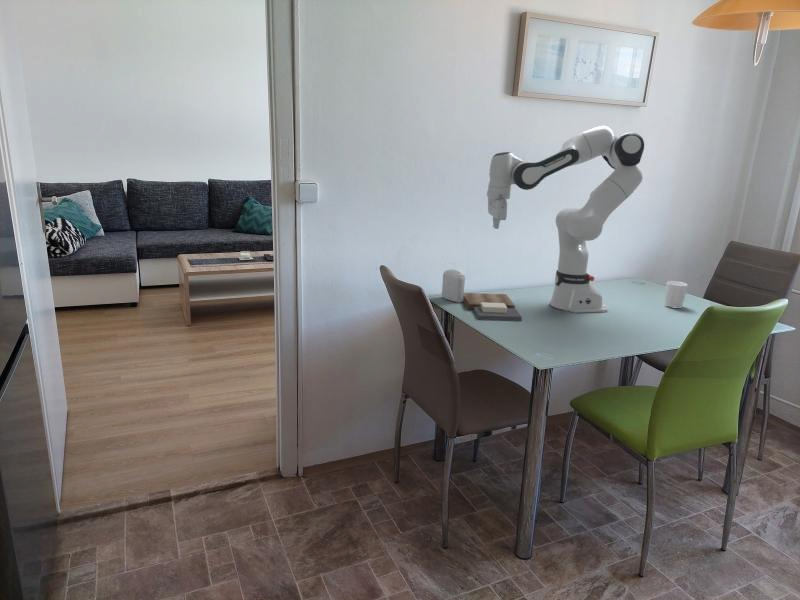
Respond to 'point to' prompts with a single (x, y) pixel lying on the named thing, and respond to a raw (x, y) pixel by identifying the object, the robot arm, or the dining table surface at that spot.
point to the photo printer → (453, 285)
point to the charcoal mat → (498, 314)
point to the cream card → (493, 307)
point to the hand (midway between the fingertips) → (495, 228)
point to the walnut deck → (486, 299)
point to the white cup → (675, 293)
